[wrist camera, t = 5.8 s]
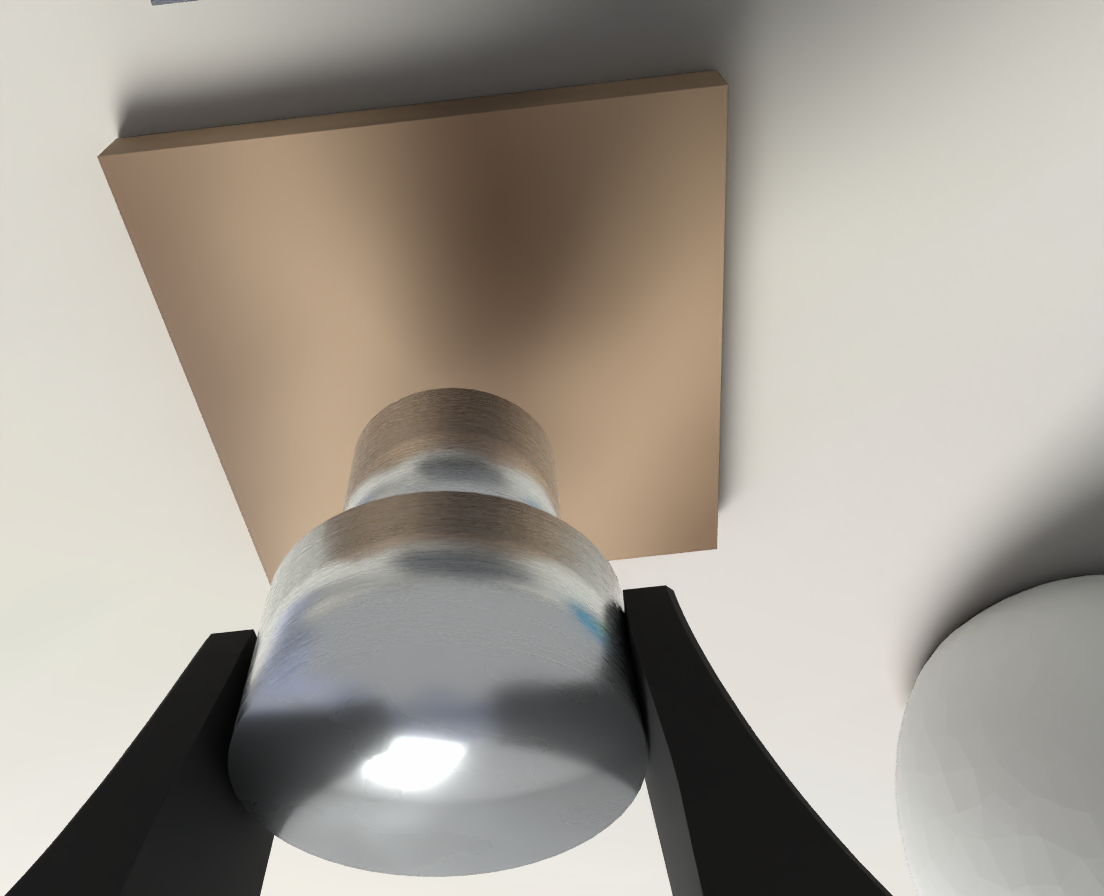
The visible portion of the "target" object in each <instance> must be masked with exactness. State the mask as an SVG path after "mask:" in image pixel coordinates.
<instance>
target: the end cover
mask: <svg viewBox="0 0 1104 896" xmlns="http://www.w3.org/2000/svg"><path fill="white" fill-rule="evenodd" d="M647 760H648V759H647V750H646V742H645V735H644V729H643V723H642V716H641V710H640V704H639V697H638V691H637V685H636V681H635V676H634V671H633V664H632V658H631V652H630V645H629V639H628V633H627V626H626V620H625V614H624V603H623V596H622V591H621V588H620V585H619V582H618V579H617V576H616V575H615V573H614V571H613V569H612V567H611V565H610V563H609V562H608V560H607V559H606V558H605V557H604V555H603V554H602V553H601V551H600V550H599V549H598V548H597V547H596V546H595V545H594V544H593V543H592V542H591V541H590V540H589V539H588V538H587V537H586V536H584V535H583V534H582V533H580V532H579V531H578V530H576V529H575V528H573V527H572V526H571V525H569V524H568V523H566V522H564V521H563V520H561V514H560V504H559V493H558V483H557V472H556V462H555V456H554V451H553V448H552V445H551V442H550V440H549V438H548V437H547V435H546V433H545V431H544V430H543V429H542V427H541V426H540V425H539V423H538V422H537V421H536V420H535V419H534V418H533V417H532V416H531V415H530V414H528V413H527V412H526V411H524V410H523V409H522V408H520V407H519V406H517V405H515V404H514V403H512V402H510V401H508V400H506V399H504V398H501V397H499V396H497V395H493V394H490V393H487V392H484V391H478V390H473V389H465V388H439V389H432V390H426V391H422V392H418V393H414V394H411V395H409V396H406V397H403V398H401V399H399V400H397V401H395V402H393V403H391V404H390V405H388V406H387V407H385V408H384V409H382V410H381V411H380V412H379V413H377V414H376V415H375V416H374V417H373V418H372V419H371V420H370V421H369V423H368V424H367V425H366V426H365V428H364V429H363V431H362V433H361V434H360V436H359V438H358V440H357V443H356V446H355V449H354V455H353V460H352V465H351V471H350V476H349V481H348V487H347V492H346V498H345V503H344V508H343V512H342V513H340V514H338V515H336V516H334V517H332V518H330V519H328V520H326V521H325V522H323V523H322V524H320V525H319V526H317V527H316V528H314V529H313V530H311V531H310V532H309V533H308V534H307V535H305V536H304V537H303V538H302V539H301V540H300V541H299V542H298V543H296V544H295V545H294V547H293V548H292V549H291V550H290V551H289V553H288V554H287V555H286V556H285V558H284V559H283V560H282V562H281V564H280V566H279V567H278V569H277V571H276V573H275V575H274V577H273V580H272V583H271V587H270V590H269V593H268V597H267V601H266V605H265V609H264V613H263V617H262V621H261V625H260V628H259V632H258V636H257V640H256V644H255V648H254V652H253V656H252V660H251V664H250V668H249V672H248V676H247V679H246V683H245V687H244V691H243V695H242V699H241V703H240V707H239V711H238V715H237V719H236V723H235V726H234V730H233V734H232V738H231V742H230V746H229V753H228V764H227V765H228V771H229V777H230V781H231V784H232V786H233V789H234V791H235V794H236V796H237V797H238V799H239V800H240V802H241V803H242V805H243V806H244V808H245V809H246V810H247V811H248V812H249V813H250V814H251V816H252V817H253V818H254V819H255V820H256V821H257V822H258V823H260V824H261V825H262V826H263V827H265V828H266V829H267V830H268V831H270V832H271V833H272V834H274V835H275V836H277V837H279V838H280V839H282V840H283V841H285V842H287V843H288V844H290V845H292V846H294V847H296V848H298V849H301V850H303V851H305V852H307V853H309V854H312V855H314V856H317V857H320V858H322V859H325V860H328V861H331V862H335V863H338V864H342V865H345V866H349V867H353V868H358V869H362V870H367V871H372V872H379V873H386V874H394V875H406V876H423V877H446V876H464V875H474V874H483V873H491V872H496V871H501V870H507V869H512V868H516V867H520V866H524V865H528V864H532V863H535V862H538V861H541V860H544V859H547V858H550V857H553V856H556V855H558V854H561V853H563V852H565V851H567V850H570V849H572V848H574V847H576V846H578V845H580V844H582V843H584V842H585V841H587V840H589V839H591V838H593V837H594V836H596V835H597V834H598V833H600V832H601V831H603V830H604V829H606V828H607V827H608V826H610V825H611V824H612V823H613V822H614V821H615V820H616V819H618V818H619V817H620V816H621V815H622V814H623V813H624V811H625V810H626V809H627V808H628V807H629V806H630V804H631V803H632V802H633V800H634V799H635V797H636V795H637V794H638V792H639V790H640V789H641V786H642V783H643V780H644V777H645V775H646V768H647Z"/></svg>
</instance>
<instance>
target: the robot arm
mask: <svg viewBox="0 0 1104 896" xmlns="http://www.w3.org/2000/svg"><path fill="white" fill-rule="evenodd" d="M623 599H624V614H625V620H626V626H627V633H628V639H629V645H630V652H631V658H632V664H633V671H634V676H635V681H636V685H637V691H638V697H639V704H640V710H641V716H642V723H643V729H644V735H645V742H646V750H647V759H648V760H647V768H646V775H645V781H646V785H647V789H648V793H649V798H650V802H651V806H652V810H653V814H654V819H655V823H656V827H657V831H658V835H659V839H660V844H661V848H662V852H663V856H664V860H665V864H666V869H667V873H668V877H669V881H670V885H671V890H672V894H673V896H892V895H891V894H890V892H889V891H888V890H887V889H886V888H885V887H884V886H883V885H882V884H881V883H880V882H879V881H878V880H877V879H876V878H875V877H874V876H873V875H872V874H871V873H870V872H869V871H868V870H867V869H866V868H865V867H864V866H863V865H862V864H861V863H860V862H859V861H858V860H857V858H856V857H855V856H854V855H853V854H852V853H851V852H850V851H849V850H848V848H847V847H846V846H845V845H844V844H843V843H842V842H841V841H840V839H839V838H838V837H837V836H836V835H835V834H834V833H833V832H832V830H831V829H830V828H829V827H828V826H827V825H826V824H825V822H824V821H823V820H822V819H821V818H820V816H819V815H818V814H817V813H816V812H815V811H814V809H813V808H812V807H811V806H810V805H809V803H808V802H807V801H806V800H805V799H804V797H803V796H802V795H801V794H800V792H799V791H798V790H797V789H796V787H795V786H794V785H793V784H792V782H791V781H790V780H789V779H788V777H787V776H786V775H785V773H784V772H783V771H782V769H781V768H780V767H779V766H778V764H777V763H776V762H775V760H774V759H773V757H772V756H771V755H770V753H769V752H768V751H767V749H766V748H765V747H764V745H763V744H762V742H761V741H760V740H759V738H758V737H757V736H756V734H755V733H754V731H753V730H752V728H751V727H750V725H749V724H748V723H747V721H746V720H745V718H744V717H743V715H742V714H741V712H740V711H739V709H738V708H737V706H736V705H735V703H734V701H733V700H732V698H731V697H730V695H729V694H728V692H727V691H726V689H725V688H724V686H723V684H722V683H721V681H720V680H719V678H718V677H717V675H716V673H715V672H714V670H713V668H712V667H711V665H710V663H709V662H708V660H707V658H706V656H705V654H704V653H703V651H702V649H701V647H700V646H699V644H698V642H697V640H696V638H695V636H694V634H693V633H692V631H691V629H690V627H689V625H688V623H687V621H686V619H685V617H684V614H683V612H682V610H681V608H680V606H679V603H678V601H677V598H676V596H675V593H674V591H673V590H672V589H670V588H669V587H667V586H666V585H665V586H656V587H646V588H637V589H628V590H623ZM256 640H257V636H256V634H255V632H254V630H253V629H252V630H243V631H233V632H224V633H215V634H211V635H210V636H209V637H208V638H207V640H206V641H205V642H204V644H203V645H202V646H201V648H200V649H199V651H198V652H197V653H196V655H195V656H194V658H193V659H192V660H191V662H190V663H189V665H188V666H187V667H186V669H185V670H184V672H183V673H182V675H181V676H180V677H179V679H178V680H177V682H176V683H175V684H174V686H173V687H172V689H171V690H170V691H169V693H168V694H167V696H166V697H165V698H164V700H163V701H162V703H161V704H160V705H159V707H158V708H157V710H156V711H155V712H154V714H153V715H152V717H151V718H150V719H149V721H148V722H147V723H146V725H145V726H144V727H143V729H142V730H141V731H140V733H139V734H138V735H137V737H136V738H135V739H134V741H133V742H132V743H131V745H130V746H129V747H128V749H127V750H126V751H125V753H124V754H123V755H122V757H121V758H120V759H119V761H118V762H117V763H116V765H115V766H114V767H113V769H112V770H111V771H110V773H109V774H108V775H107V777H106V778H105V779H104V780H103V782H102V783H101V784H100V785H99V787H98V788H97V789H96V790H95V791H94V793H93V794H92V795H91V796H90V798H89V799H88V800H87V801H86V803H85V804H84V805H83V806H82V807H81V809H80V810H79V811H78V812H77V814H76V815H75V816H74V817H73V818H72V820H71V821H70V822H69V823H68V825H67V826H66V827H65V828H64V830H63V831H62V832H61V833H60V834H59V835H58V837H57V838H56V839H55V840H54V841H53V842H52V844H51V845H50V846H49V847H48V848H47V849H46V850H45V852H44V853H43V854H42V855H41V856H40V857H39V859H38V860H37V861H36V862H35V863H34V864H33V865H32V866H31V867H30V869H29V870H28V871H27V872H26V873H25V874H24V875H23V876H22V877H21V878H20V880H19V881H18V882H17V883H16V884H15V885H14V886H13V887H12V888H11V889H10V890H9V891H8V892H7V894H6V895H5V896H260V893H261V889H262V884H263V880H264V876H265V872H266V868H267V863H268V859H269V855H270V851H271V847H272V842H273V838H274V834H272V833H271V832H270V831H268V830H267V829H266V828H265V827H263V826H262V825H261V824H260V823H258V822H257V821H256V820H255V819H254V818H253V817H252V816H251V814H250V813H249V812H248V811H247V810H246V809H245V808H244V806H243V805H242V803H241V802H240V800H239V799H238V797H237V796H236V794H235V791H234V789H233V786H232V784H231V781H230V777H229V771H228V765H227V764H228V753H229V746H230V742H231V738H232V734H233V730H234V726H235V723H236V719H237V715H238V711H239V707H240V703H241V699H242V695H243V691H244V687H245V683H246V679H247V676H248V672H249V668H250V664H251V660H252V656H253V652H254V648H255V644H256Z"/></svg>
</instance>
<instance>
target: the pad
mask: <svg viewBox="0 0 1104 896" xmlns="http://www.w3.org/2000/svg"><path fill="white" fill-rule="evenodd" d="M727 104H728V84H727V83H726V82H725V80H724V79H723V78H722V77H721V75H720V74H719V73H718V72H717V70H712V71H703V72H694V73H685V74H677V75H668V76H659V77H650V78H642V79H633V80H624V81H615V82H607V83H598V84H589V85H580V86H572V87H563V88H554V89H545V90H537V91H528V92H519V93H510V94H502V95H493V96H484V97H475V98H467V99H458V100H449V101H440V102H432V103H423V104H414V105H405V106H397V107H388V108H379V109H370V110H362V111H353V112H344V113H335V114H327V115H318V116H309V117H300V118H292V119H283V120H274V121H265V122H257V123H248V124H239V125H230V126H222V127H213V128H204V129H195V130H187V131H178V132H169V133H160V134H152V135H143V136H134V137H126V138H117V139H116V140H115V141H114V142H113V143H111V144H110V145H109V146H108V147H107V148H106V149H105V150H104V151H103V152H102V153H101V154H100V155H99V156H98V159H99V162H100V164H101V167H102V169H103V172H104V174H105V177H106V179H107V182H108V184H109V187H110V189H111V192H112V194H113V196H114V199H115V201H116V204H117V206H118V209H119V211H120V214H121V216H122V219H123V221H124V224H125V226H126V229H127V231H128V234H129V236H130V239H131V241H132V244H133V246H134V248H135V251H136V253H137V256H138V258H139V261H140V263H141V266H142V268H143V271H144V273H145V276H146V278H147V281H148V283H149V286H150V288H151V291H152V293H153V296H154V298H155V301H156V303H157V305H158V308H159V310H160V313H161V315H162V318H163V320H164V323H165V325H166V328H167V330H168V333H169V335H170V338H171V340H172V343H173V345H174V348H175V350H176V353H177V355H178V357H179V360H180V362H181V365H182V367H183V370H184V372H185V375H186V377H187V380H188V382H189V385H190V387H191V390H192V392H193V395H194V397H195V400H196V402H197V405H198V407H199V410H200V412H201V414H202V417H203V419H204V422H205V424H206V427H207V429H208V432H209V434H210V437H211V439H212V442H213V444H214V447H215V449H216V452H217V454H218V457H219V459H220V462H221V464H222V467H223V469H224V471H225V474H226V476H227V479H228V481H229V484H230V486H231V489H232V491H233V494H234V496H235V499H236V501H237V504H238V506H239V509H240V511H241V514H242V516H243V519H244V521H245V523H246V526H247V528H248V531H249V533H250V536H251V538H252V541H253V543H254V546H255V548H256V551H257V553H258V556H259V558H260V561H261V563H262V566H263V568H264V571H265V573H266V576H267V578H268V580H269V583H270V585H271V583H272V580H273V577H274V575H275V573H276V571H277V569H278V567H279V566H280V564H281V562H282V560H283V559H284V558H285V556H286V555H287V554H288V553H289V551H290V550H291V549H292V548H293V547H294V545H295V544H296V543H298V542H299V541H300V540H301V539H302V538H303V537H304V536H305V535H307V534H308V533H309V532H310V531H311V530H313V529H314V528H316V527H317V526H319V525H320V524H322V523H323V522H325V521H326V520H328V519H330V518H332V517H334V516H336V515H338V514H340V513H342V512H343V508H344V503H345V498H346V492H347V487H348V481H349V476H350V471H351V465H352V460H353V455H354V449H355V446H356V443H357V440H358V438H359V436H360V434H361V433H362V431H363V429H364V428H365V426H366V425H367V424H368V423H369V421H370V420H371V419H372V418H373V417H374V416H375V415H376V414H377V413H379V412H380V411H381V410H382V409H384V408H385V407H387V406H388V405H390V404H391V403H393V402H395V401H397V400H399V399H401V398H403V397H406V396H409V395H411V394H414V393H418V392H422V391H426V390H432V389H439V388H465V389H473V390H478V391H484V392H487V393H490V394H493V395H497V396H499V397H501V398H504V399H506V400H508V401H510V402H512V403H514V404H515V405H517V406H519V407H520V408H522V409H523V410H524V411H526V412H527V413H528V414H530V415H531V416H532V417H533V418H534V419H535V420H536V421H537V422H538V423H539V425H540V426H541V427H542V429H543V430H544V431H545V433H546V435H547V437H548V438H549V440H550V442H551V445H552V448H553V451H554V456H555V462H556V472H557V483H558V493H559V504H560V514H561V520H563V521H564V522H566V523H568V524H569V525H571V526H572V527H573V528H575V529H576V530H578V531H579V532H580V533H582V534H583V535H584V536H586V537H587V538H588V539H589V540H590V541H591V542H592V543H593V544H594V545H595V546H596V547H597V548H598V549H599V550H600V551H601V553H602V554H603V555H604V557H605V558H606V559H607V560H608V561H610V560H619V559H629V558H638V557H647V556H656V555H666V554H675V553H684V552H693V551H702V550H712V549H717V528H718V485H719V443H720V401H721V358H722V316H723V274H724V231H725V189H726V147H727Z"/></svg>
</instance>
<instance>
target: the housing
mask: <svg viewBox="0 0 1104 896" xmlns="http://www.w3.org/2000/svg"><path fill="white" fill-rule="evenodd" d="M187 1H196V0H151V3H152V6H153V5H161V4H170V3H179V2H187Z"/></svg>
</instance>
